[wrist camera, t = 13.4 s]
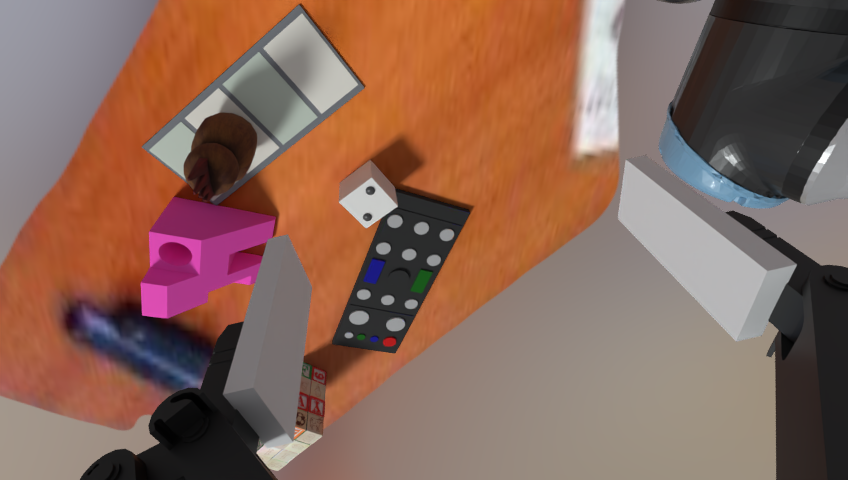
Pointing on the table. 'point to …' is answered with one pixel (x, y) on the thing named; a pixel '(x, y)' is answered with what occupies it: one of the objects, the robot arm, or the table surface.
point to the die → (367, 194)
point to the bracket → (200, 254)
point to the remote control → (399, 271)
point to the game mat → (266, 96)
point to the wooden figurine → (220, 154)
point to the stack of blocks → (301, 420)
